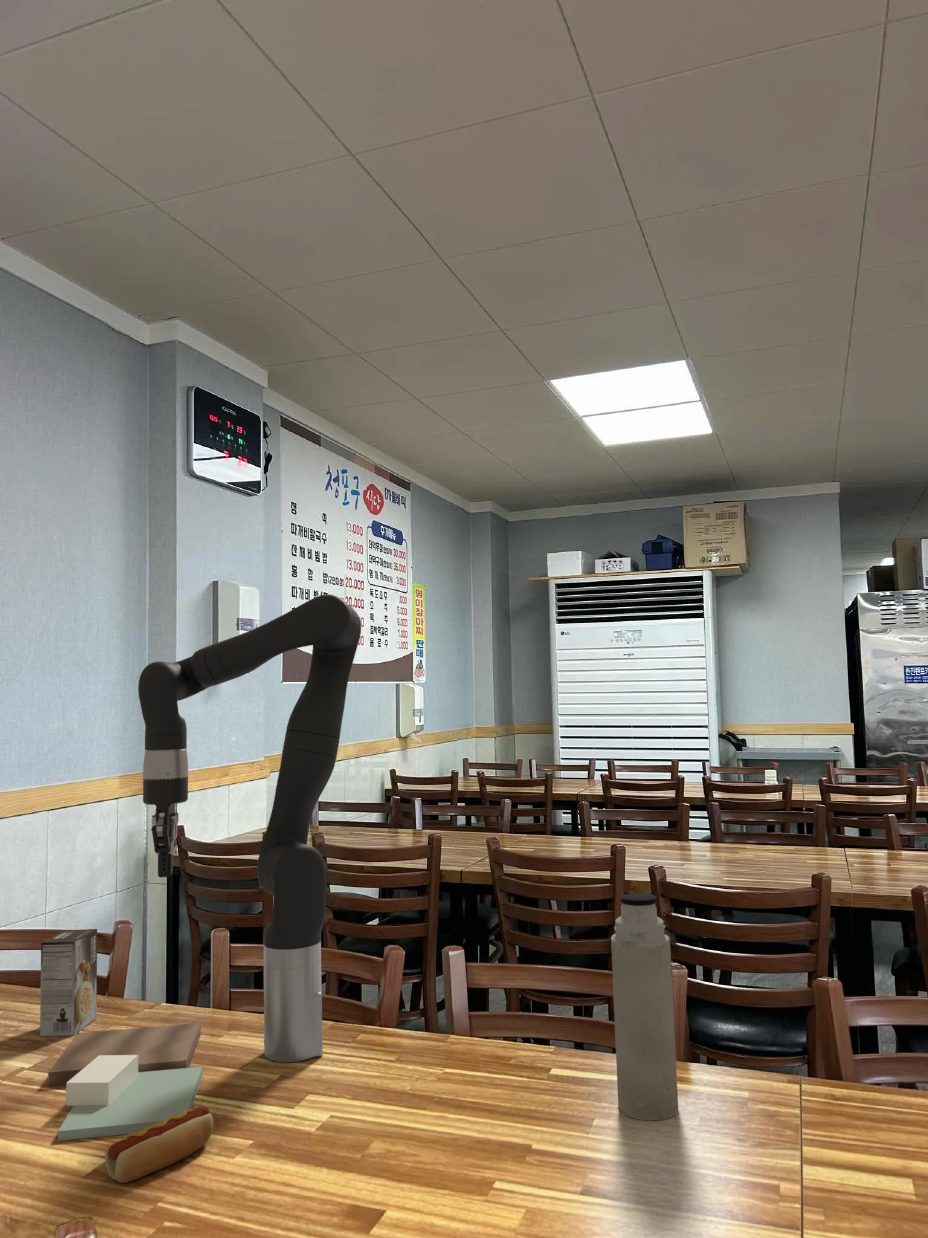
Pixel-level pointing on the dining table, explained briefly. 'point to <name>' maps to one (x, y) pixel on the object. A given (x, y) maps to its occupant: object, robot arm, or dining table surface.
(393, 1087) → the dining table surface
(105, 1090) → the white rectangular block
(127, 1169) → the food
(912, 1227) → the dining table surface
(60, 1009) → the coffee box
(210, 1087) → the dining table surface
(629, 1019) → the thermos bottle
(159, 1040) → the plate
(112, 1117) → the mat
